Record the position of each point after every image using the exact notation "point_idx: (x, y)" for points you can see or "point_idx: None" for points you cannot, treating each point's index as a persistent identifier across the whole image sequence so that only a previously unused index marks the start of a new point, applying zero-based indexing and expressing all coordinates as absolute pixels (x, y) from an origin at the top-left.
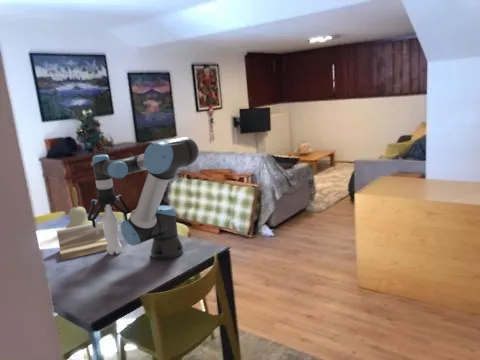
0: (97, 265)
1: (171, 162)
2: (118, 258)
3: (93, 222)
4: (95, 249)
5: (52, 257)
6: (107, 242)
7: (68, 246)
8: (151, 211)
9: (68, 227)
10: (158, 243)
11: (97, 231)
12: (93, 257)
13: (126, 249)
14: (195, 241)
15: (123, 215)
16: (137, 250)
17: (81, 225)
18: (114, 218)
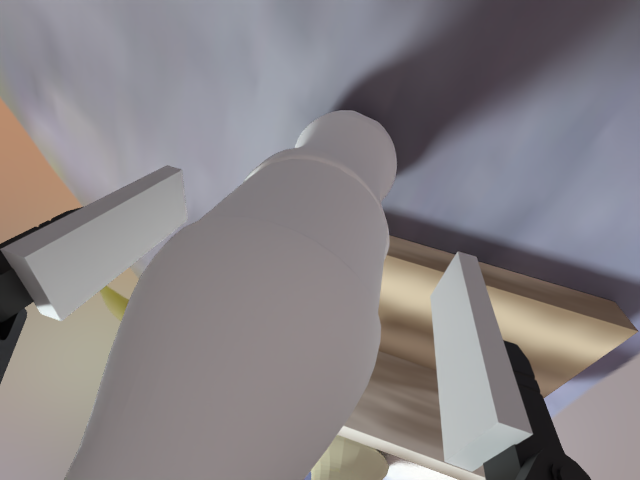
0: (574, 3)
1: None
2: (376, 21)
3: (537, 427)
4: (424, 256)
5: (602, 359)
6: (382, 185)
7: None
8: None
9: (383, 472)
10: None
11: (472, 275)
12: (478, 192)
13: (278, 146)
14: None
15: (23, 270)
16: (227, 68)
17: (412, 460)
18: (164, 269)
